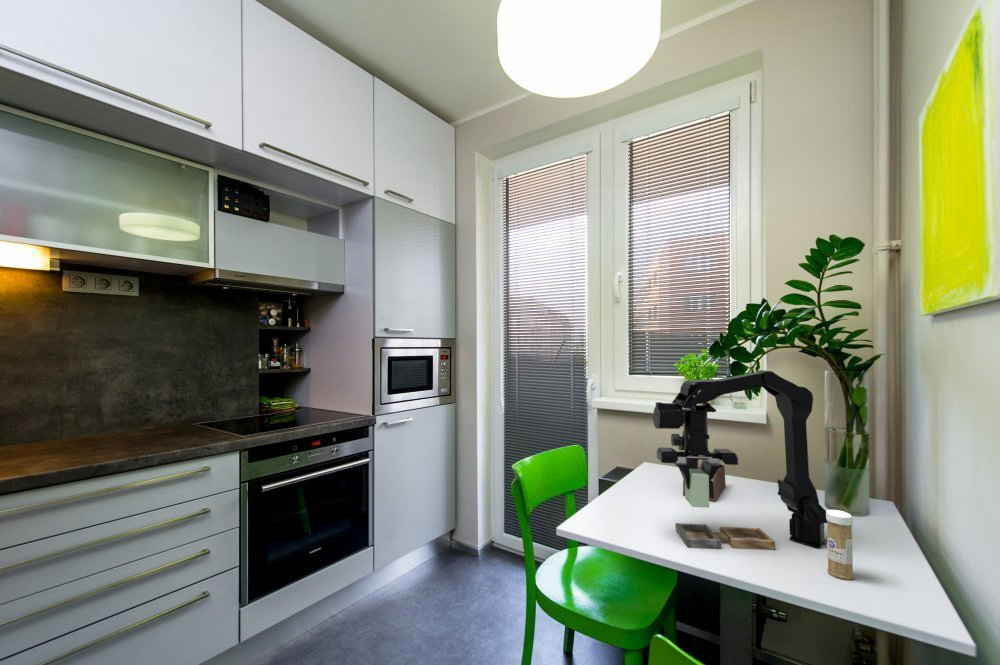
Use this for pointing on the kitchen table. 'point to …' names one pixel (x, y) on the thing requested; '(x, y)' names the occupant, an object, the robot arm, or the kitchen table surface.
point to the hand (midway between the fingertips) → (696, 489)
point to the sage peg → (698, 489)
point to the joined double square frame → (723, 537)
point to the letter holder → (716, 484)
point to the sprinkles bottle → (839, 544)
